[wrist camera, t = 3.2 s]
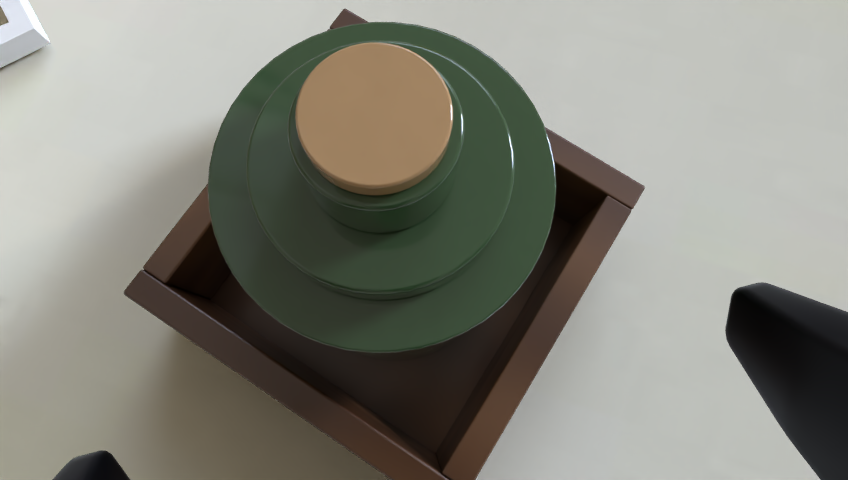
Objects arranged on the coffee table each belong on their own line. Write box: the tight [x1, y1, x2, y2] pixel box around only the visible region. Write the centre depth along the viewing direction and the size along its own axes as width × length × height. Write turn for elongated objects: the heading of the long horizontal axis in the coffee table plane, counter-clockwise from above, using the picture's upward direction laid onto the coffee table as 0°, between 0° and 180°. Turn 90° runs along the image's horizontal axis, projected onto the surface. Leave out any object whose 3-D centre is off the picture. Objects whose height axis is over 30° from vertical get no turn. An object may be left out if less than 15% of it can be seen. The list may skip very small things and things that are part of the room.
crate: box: [124, 9, 645, 480], centre depth 17 cm, size 10×10×4 cm
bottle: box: [208, 22, 556, 361], centre depth 13 cm, size 6×6×11 cm
